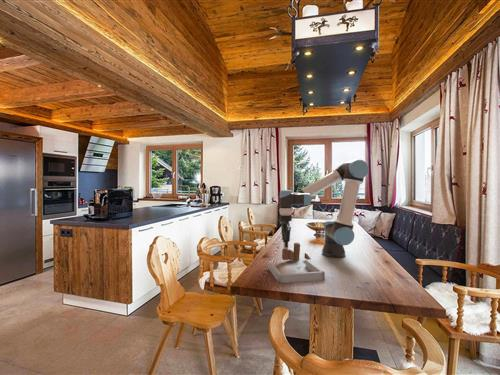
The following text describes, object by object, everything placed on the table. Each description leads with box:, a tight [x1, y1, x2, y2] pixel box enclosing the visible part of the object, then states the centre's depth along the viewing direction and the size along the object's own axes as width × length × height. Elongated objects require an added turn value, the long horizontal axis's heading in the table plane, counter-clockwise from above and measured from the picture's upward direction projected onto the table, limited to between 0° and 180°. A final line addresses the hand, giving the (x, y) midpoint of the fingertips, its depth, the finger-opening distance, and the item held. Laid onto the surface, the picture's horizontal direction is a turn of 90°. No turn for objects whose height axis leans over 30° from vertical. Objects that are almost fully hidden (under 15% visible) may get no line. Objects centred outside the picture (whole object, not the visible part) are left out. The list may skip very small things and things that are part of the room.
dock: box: [268, 259, 326, 284], centre depth 137 cm, size 24×22×4 cm
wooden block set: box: [281, 242, 311, 261], centre depth 160 cm, size 18×9×10 cm, turn 108°
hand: (285, 251), depth 159 cm, fingers closed
